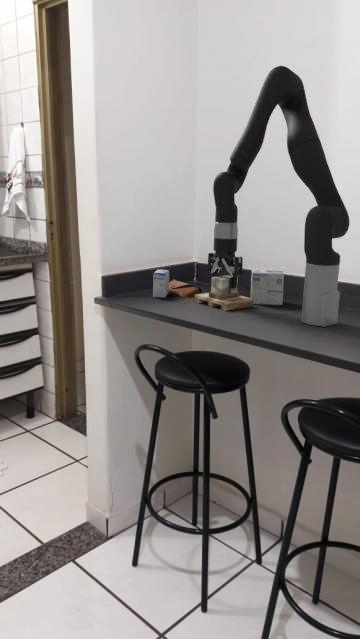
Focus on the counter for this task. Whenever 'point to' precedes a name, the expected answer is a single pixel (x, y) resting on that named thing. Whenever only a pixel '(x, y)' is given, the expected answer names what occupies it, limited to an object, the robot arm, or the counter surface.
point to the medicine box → (160, 283)
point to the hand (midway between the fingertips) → (223, 286)
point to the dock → (225, 301)
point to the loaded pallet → (222, 288)
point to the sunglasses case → (183, 289)
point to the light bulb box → (267, 287)
